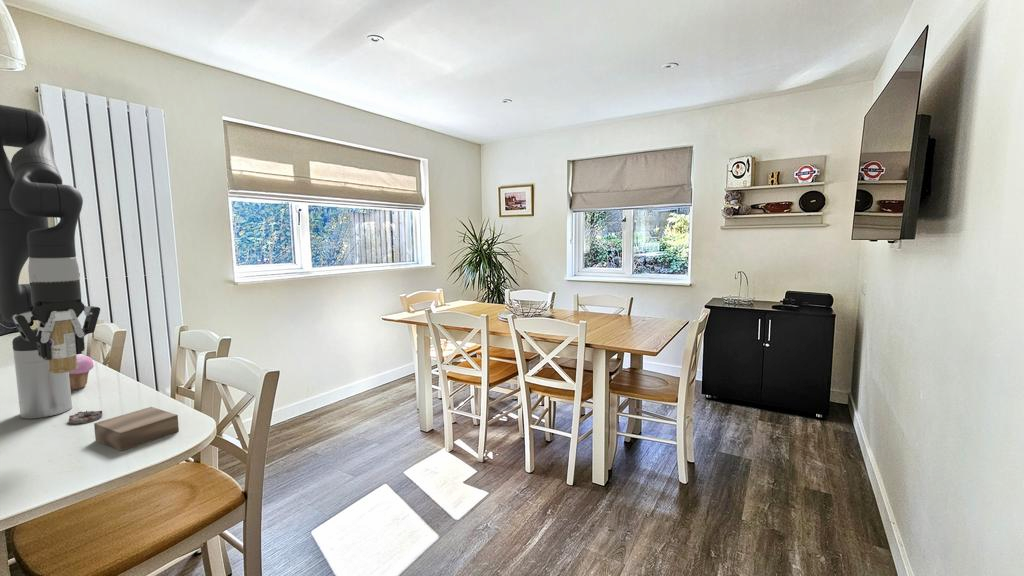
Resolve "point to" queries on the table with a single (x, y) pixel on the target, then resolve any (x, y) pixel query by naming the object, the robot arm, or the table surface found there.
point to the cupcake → (80, 372)
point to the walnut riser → (136, 428)
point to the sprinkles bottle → (62, 344)
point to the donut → (85, 417)
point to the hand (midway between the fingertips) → (62, 356)
